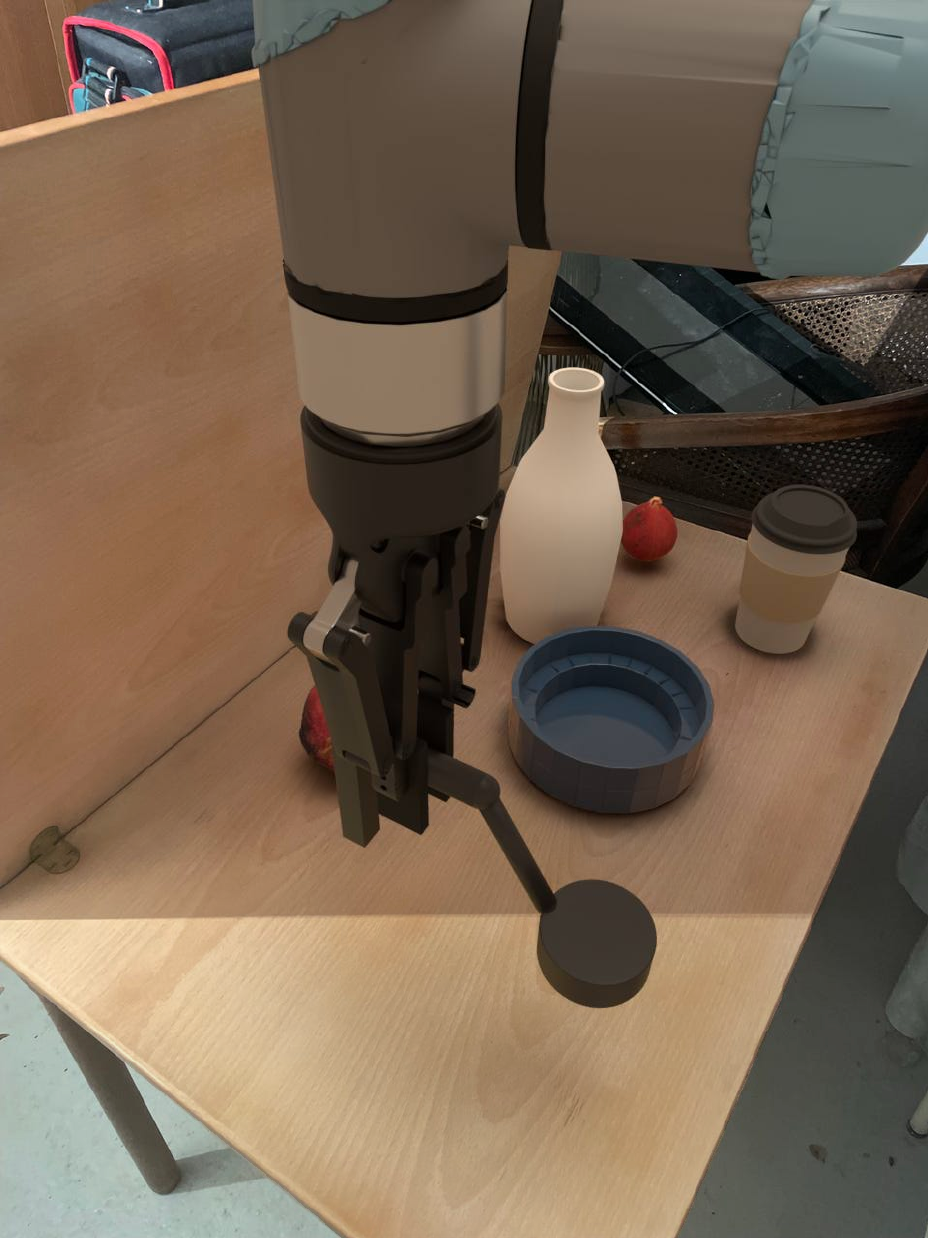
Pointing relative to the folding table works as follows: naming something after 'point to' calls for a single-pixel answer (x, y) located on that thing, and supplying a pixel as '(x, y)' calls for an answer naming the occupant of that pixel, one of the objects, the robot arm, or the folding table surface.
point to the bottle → (561, 516)
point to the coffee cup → (791, 565)
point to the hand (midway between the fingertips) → (416, 802)
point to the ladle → (533, 890)
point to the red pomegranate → (649, 531)
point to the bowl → (609, 718)
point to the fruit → (316, 731)
